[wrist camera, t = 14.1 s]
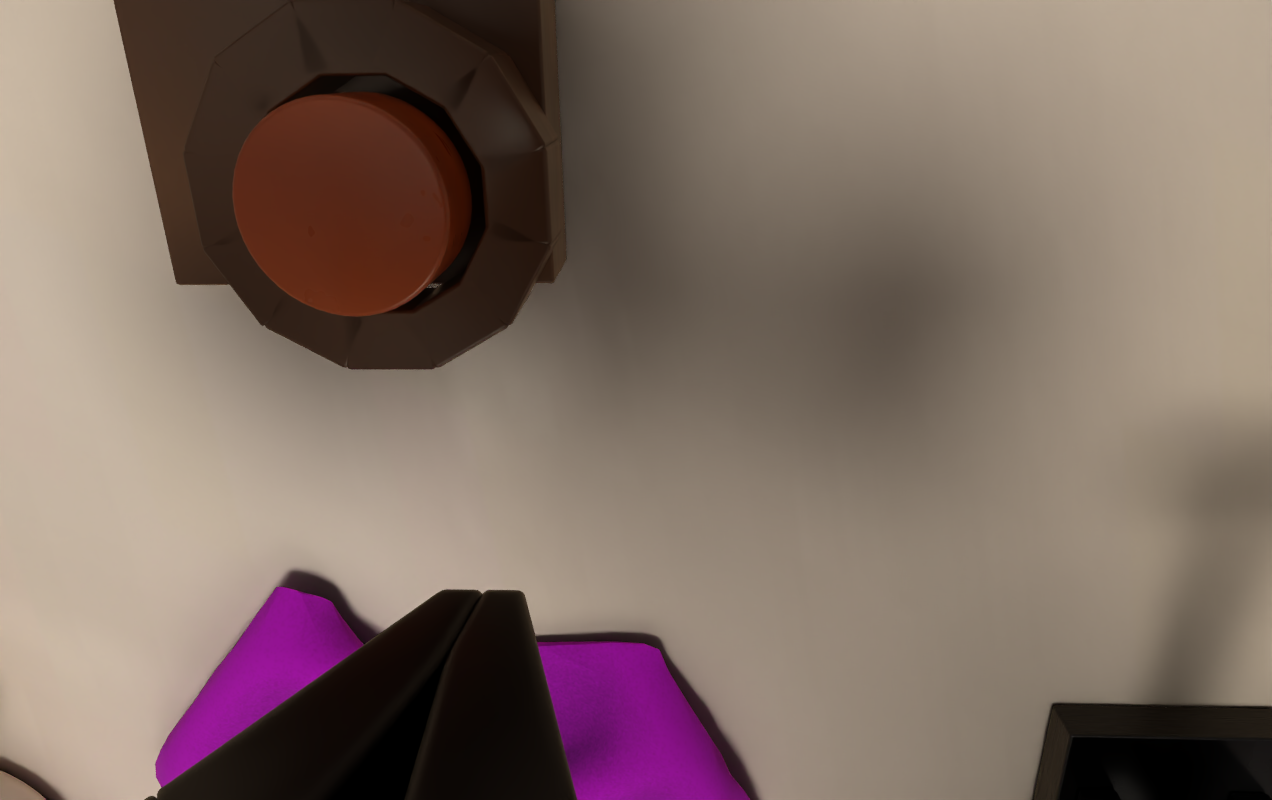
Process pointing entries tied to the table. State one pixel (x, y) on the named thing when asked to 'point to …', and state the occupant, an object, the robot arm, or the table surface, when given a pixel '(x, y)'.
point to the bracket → (1156, 754)
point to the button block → (350, 62)
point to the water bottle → (16, 789)
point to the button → (351, 201)
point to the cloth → (576, 676)
